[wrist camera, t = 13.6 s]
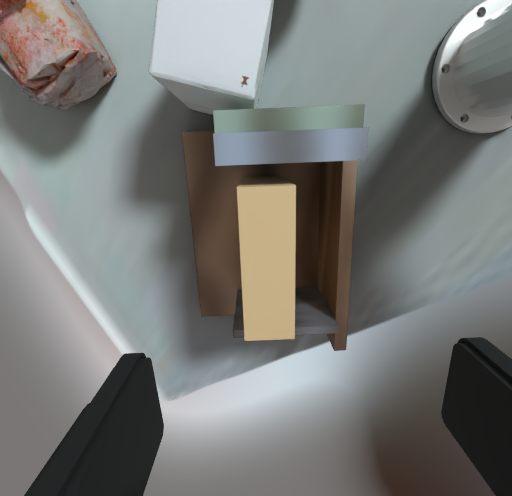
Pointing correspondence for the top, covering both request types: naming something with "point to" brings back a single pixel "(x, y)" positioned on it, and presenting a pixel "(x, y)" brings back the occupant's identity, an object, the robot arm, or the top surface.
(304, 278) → the shelf
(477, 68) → the robot arm
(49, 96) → the food item
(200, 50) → the supplement box
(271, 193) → the book
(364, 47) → the top surface
